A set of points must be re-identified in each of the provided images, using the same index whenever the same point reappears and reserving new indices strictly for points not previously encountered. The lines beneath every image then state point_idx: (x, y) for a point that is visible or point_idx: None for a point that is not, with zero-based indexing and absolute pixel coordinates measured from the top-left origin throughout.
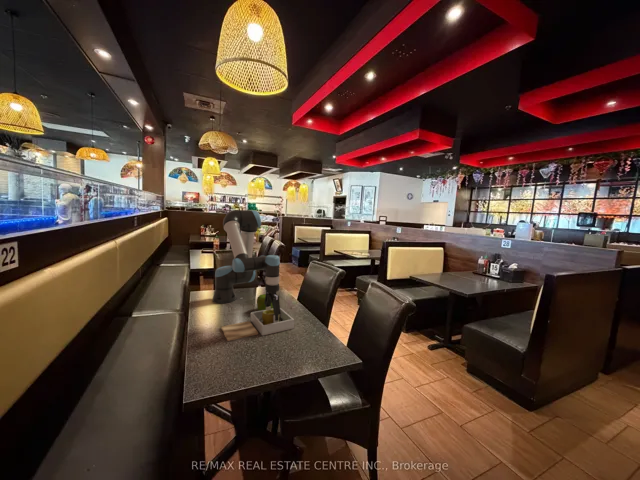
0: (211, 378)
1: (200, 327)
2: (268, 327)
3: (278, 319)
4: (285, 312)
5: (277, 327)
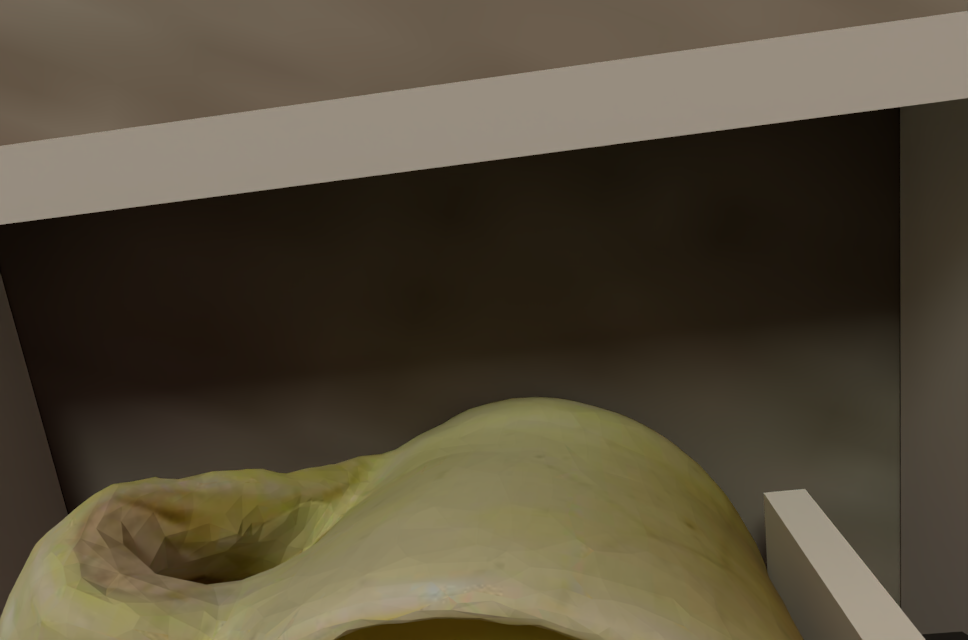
0: None
1: None
2: None
3: (889, 600)
4: (289, 133)
5: None
